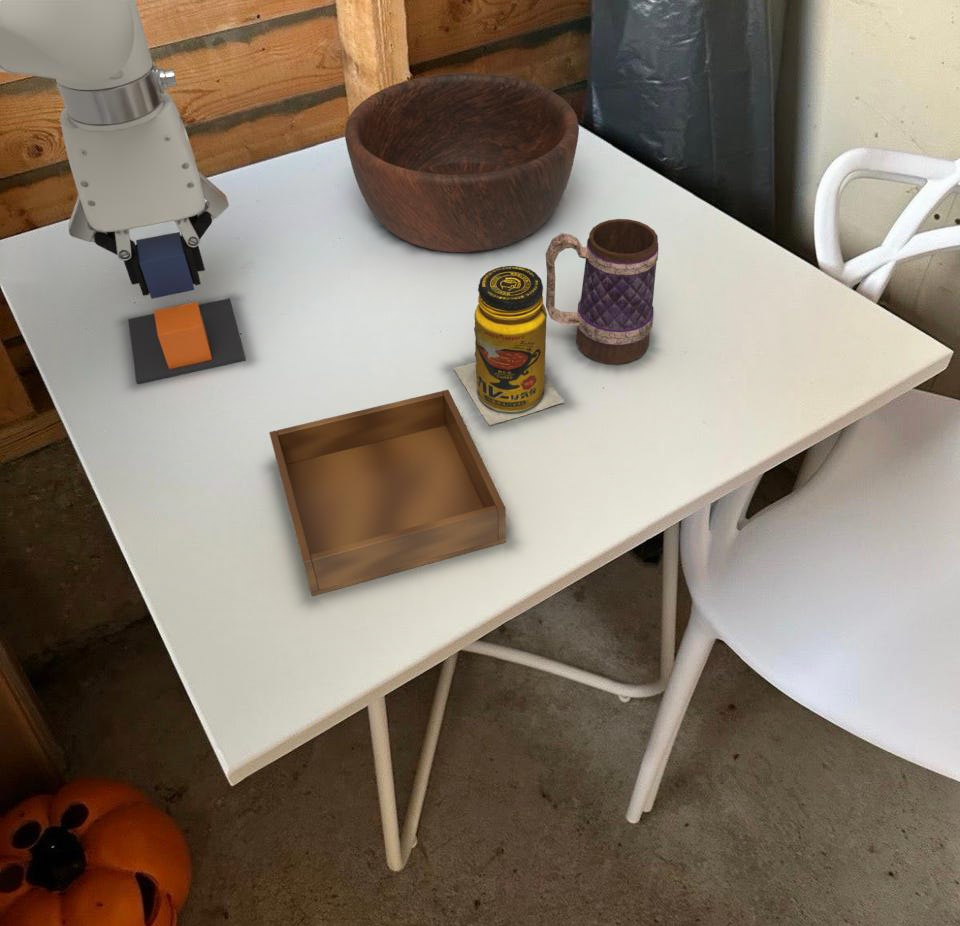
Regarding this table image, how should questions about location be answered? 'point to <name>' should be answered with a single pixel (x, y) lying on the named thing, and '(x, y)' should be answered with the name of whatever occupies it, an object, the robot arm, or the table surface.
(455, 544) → the tray
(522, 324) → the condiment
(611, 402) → the table surface
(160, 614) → the table surface
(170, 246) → the blue cube
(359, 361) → the table surface
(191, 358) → the orange cube
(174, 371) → the mat
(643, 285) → the mug
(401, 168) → the wooden bowl
